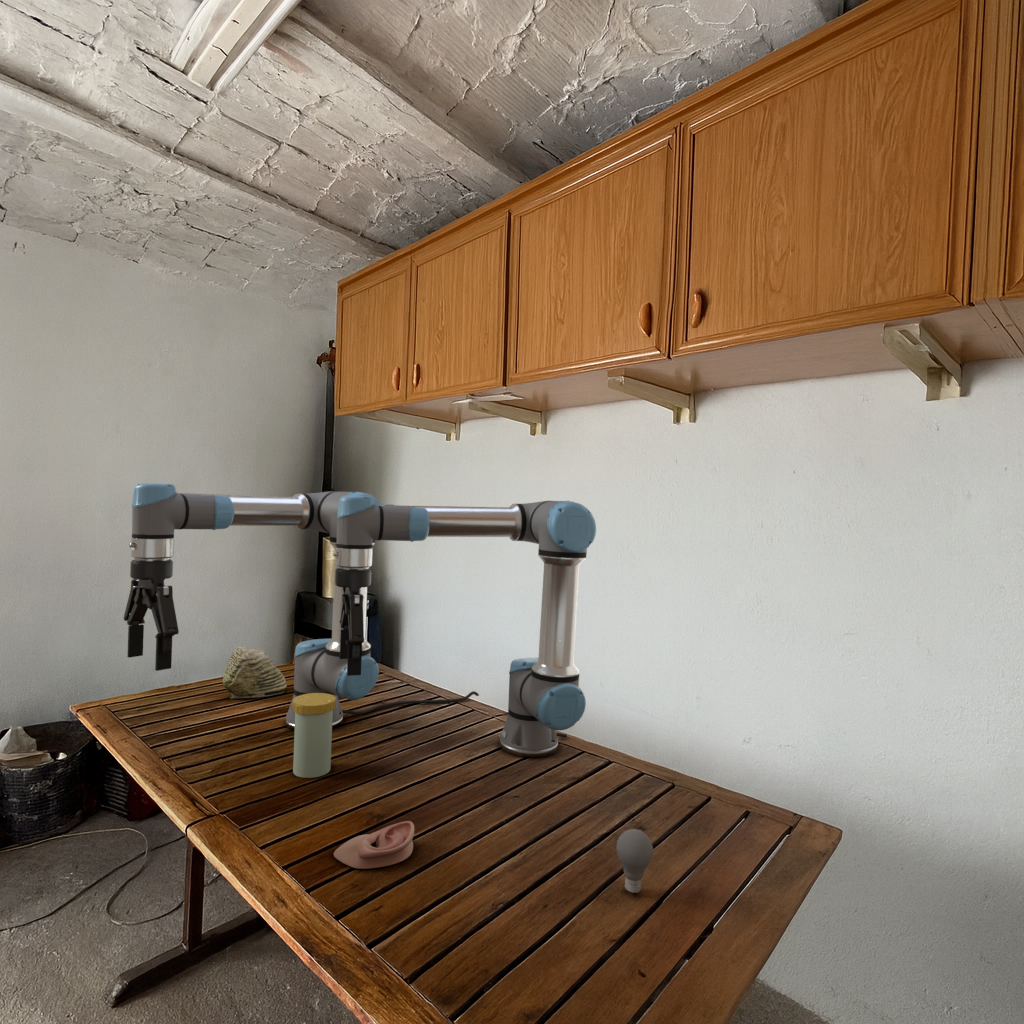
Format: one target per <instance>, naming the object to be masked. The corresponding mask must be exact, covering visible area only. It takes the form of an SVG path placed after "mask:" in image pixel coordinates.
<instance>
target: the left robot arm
mask: <svg viewBox="0 0 1024 1024" xmlns="http://www.w3.org/2000/svg"><path fill="white" fill-rule="evenodd" d="M342 496H369V497H373V498H374V503H375V505H377V506H383V505H382V503H381V502H380V501H379V500H378V498H377V497H375V495H373V494H370V493H367V492H363V491H362V492H361V491H337V490H336V491H335V490H333V491H332V490H330V491H321V492H311V493H295V494H294V495H293V496H276V495H275V496H274V495H273V496H272V495H248V494H247V495H246V494H244V495H243V494H220V493H219V494H218V493H217V494H216V493H215V494H214V493H189V492H187V493H186V492H177V491H176V486H175V485H174V484H173V483H152V482H139V483H137V484H136V485H135V486H134V488H133V492H132V501H131V520H132V521H131V542H130V543H128V547H129V548H130V549H131V550H130V556H131V558H133V559H132V560H131V561H130V567H129V568H130V571H129V574H130V575H129V576H130V578H131V581H130V590H129V594H128V598H127V603H126V607H125V610H124V615H123V621H124V622H126V624H127V626H128V629H127V630H128V631H127V658H135V657H142V656H144V635H145V634H144V630H145V625H144V624H145V623H146V621H145V619H144V618H145V616H146V615H147V612H148V609H149V610H151V613H152V618H153V620H154V624H155V627H156V631H157V633H156V635H155V636H154V638H155V661H154V663H155V665H154V668H155V669H154V670H155V671H157V672H159V671H164V670H169V669H172V659H173V657H172V655H173V637H175V636H176V635H179V632H180V631H179V625H178V619H177V615H176V614H177V613H176V609H175V603H174V597H173V595H174V593H173V585H165V580H167V579H171V578H172V577H173V575H174V573H173V572H174V561H173V560H172V559H171V558H173V557H174V554H175V553H174V552H175V530H213V531H215V530H224V529H228V528H230V526H233V527H234V526H237V527H238V526H240V527H243V526H246V527H247V526H249V527H250V526H258V527H259V526H268V527H269V526H276V527H277V526H282V527H284V526H285V527H286V526H287V527H288V526H289V527H290V526H291V527H293V528H294V529H296V530H308V531H309V530H310V531H316V532H319V533H325V534H329V544H330V545H331V546H332V547H333V548H334V550H335V551H334V552H337V550H336V549H337V547H336V545H337V515H338V504H339V499H340V498H341V497H342ZM375 544H376V540H373V543H372V547H374V545H375ZM336 557H337V556H334V571H335V570H336V569H337V568H339V566H337V565H336ZM333 573H334V577H333V599H332V625H331V626H332V627H331V638H317V639H308V640H304V641H300V642H299V643H297V645H296V646H295V650H294V655H293V657H294V672H293V673H294V674H293V695H292V696H293V697H292V699H291V702H290V704H289V708H288V711H287V713H286V715H285V726H286V728H287V729H289V730H291V731H295V712H294V711H293V699H294V698H295V697H297V696H300V695H303V694H309V693H326V694H331V695H333V696H335V698H336V707H335V709H334V710H333V715H332V730H333V729H335V728H337V727H339V726H340V725H342V723H343V722H344V714H346V715H354V716H360V715H366V714H369V713H371V712H374V711H376V710H379V709H383V708H388V707H389V708H390V707H394V706H400V705H411V704H412V705H413V704H445V703H447V704H448V703H457V702H458V703H459V702H463V701H466V700H469V698H470V697H472V696H474V695H475V696H476V697H479V696H480V694H479V693H478V692H477V691H476V690H475V691H473V690H472V691H471V692H469V693H468V694H467V695H465V696H463V697H459V698H449V699H417V700H416V699H414V700H412V699H411V700H402V701H393V702H388V703H382V704H379V705H376V706H373V707H370V708H367V709H365V710H360V711H355V710H349V709H348V710H347V709H342V706H341V702H340V699H339V698H341V699H342V700H343V699H344V700H348V701H349V700H350V701H357V700H360V699H362V698H364V697H365V696H367V695H368V694H370V692H371V690H372V689H374V687H375V685H376V683H377V682H378V678H379V674H380V672H379V671H380V670H379V669H380V668H379V665H378V663H377V662H376V660H375V659H374V657H371V652H372V649H371V648H372V644H371V643H370V642H368V640H367V639H366V631H367V607H368V606H367V605H368V604H367V602H368V587H361V588H360V594H363V596H364V598H363V625H364V643H362V661H361V675H353V676H347V662H348V659H340V636H341V627H340V625H341V624H340V617H341V607H342V594H343V587H338V586H336V585H335V572H333Z"/></svg>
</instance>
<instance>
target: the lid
mask: <svg viewBox="0 0 1024 1024" xmlns="http://www.w3.org/2000/svg"><path fill="white" fill-rule="evenodd" d="M292 699H293V698H292ZM335 707H336V698H335V696H333V695H331V694H326V693H309V694H303V695H300V696H297V697H295V698H294V699H293V711H294V712H296V713H299V714H305V715H316V714H323V713H327V712H330V711H332V710H334V709H335Z"/></svg>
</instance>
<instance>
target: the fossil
mask: <svg viewBox="0 0 1024 1024" xmlns="http://www.w3.org/2000/svg"><path fill="white" fill-rule="evenodd" d="M222 676H223V677H222V685H223V687H224V688H225V690H226V691H228V693H229V698H230V699H250V698H264V697H271V696H275V695H281V694H284V693H285V691H286V689H287V687H288V686H287V680H286V678H285V676H284V674H283V673H282V672H281V669H279V668H278V667H277V665H276V663H275V662H274V660H273V659H272V658H271V657H270V656H269V655H268V654H267V653H266V652H265V650H264V649H263V648H260V647H258V648H251V647H247V646H246V647H245V646H238V647H237V648H236V649H235V650H233V651H232V653H231V656H230V657H229V659H228V660H227V663H226V666H225V668H224V671H223V675H222Z"/></svg>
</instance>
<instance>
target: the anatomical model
mask: <svg viewBox="0 0 1024 1024" xmlns="http://www.w3.org/2000/svg"><path fill="white" fill-rule="evenodd" d="M414 836H415V824H414V823H413V822H412V821H411V820H405V821H400V822H397V823H393V824H391V825H388V826H386V827H383V828H381V829H379V830H376V831H373V832H371V833H368V834H367V833H366V834H361V835H357V836H355V837H353V838H351V839H349V840H347V841H345V842H344V843H342V844H341V845H340V846H338V847H337V848H336V849H335V851H334V852H333V857H334V858H335V859H336V860H337V861H339V862H341V863H342V864H344V865H346V866H348V867H350V868H353V869H357V870H367V869H376V868H377V869H378V868H382V867H387V866H388V867H389V866H393V865H395V864H398V863H400V862H403V861H405V860H407V859H408V858H409V857H410V856H411V855H412V853H413V850H414V841H413V839H414Z"/></svg>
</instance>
